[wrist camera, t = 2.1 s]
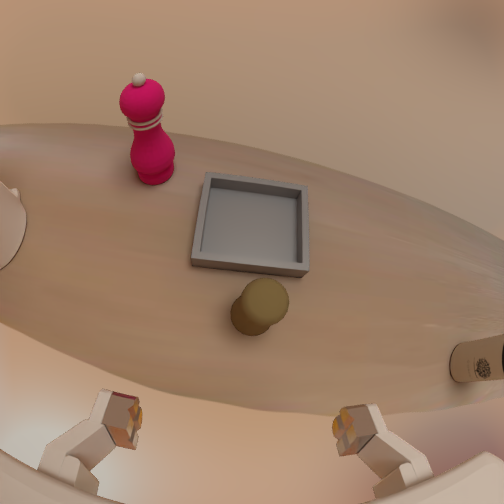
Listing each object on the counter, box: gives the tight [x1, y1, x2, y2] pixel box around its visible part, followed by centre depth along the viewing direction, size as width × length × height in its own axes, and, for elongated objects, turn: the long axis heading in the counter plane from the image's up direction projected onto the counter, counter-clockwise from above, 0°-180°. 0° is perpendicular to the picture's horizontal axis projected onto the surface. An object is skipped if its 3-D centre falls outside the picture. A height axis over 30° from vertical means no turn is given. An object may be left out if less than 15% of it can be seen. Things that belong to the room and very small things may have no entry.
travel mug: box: [450, 334, 504, 382], centre depth 31 cm, size 8×8×18 cm
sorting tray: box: [191, 172, 309, 278], centre depth 41 cm, size 16×14×4 cm
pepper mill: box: [119, 73, 175, 185], centre depth 35 cm, size 7×7×20 cm
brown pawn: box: [231, 278, 289, 336], centre depth 33 cm, size 6×6×11 cm
